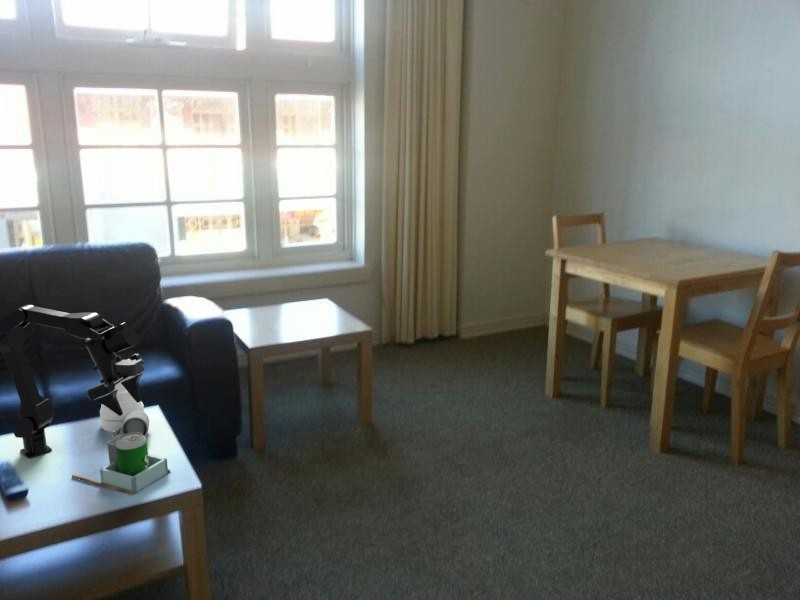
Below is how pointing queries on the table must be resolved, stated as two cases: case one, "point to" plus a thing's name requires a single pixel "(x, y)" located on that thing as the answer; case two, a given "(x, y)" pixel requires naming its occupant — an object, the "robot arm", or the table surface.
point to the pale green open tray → (131, 482)
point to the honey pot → (127, 404)
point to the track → (106, 484)
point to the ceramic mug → (134, 424)
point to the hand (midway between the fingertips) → (130, 408)
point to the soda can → (132, 453)
